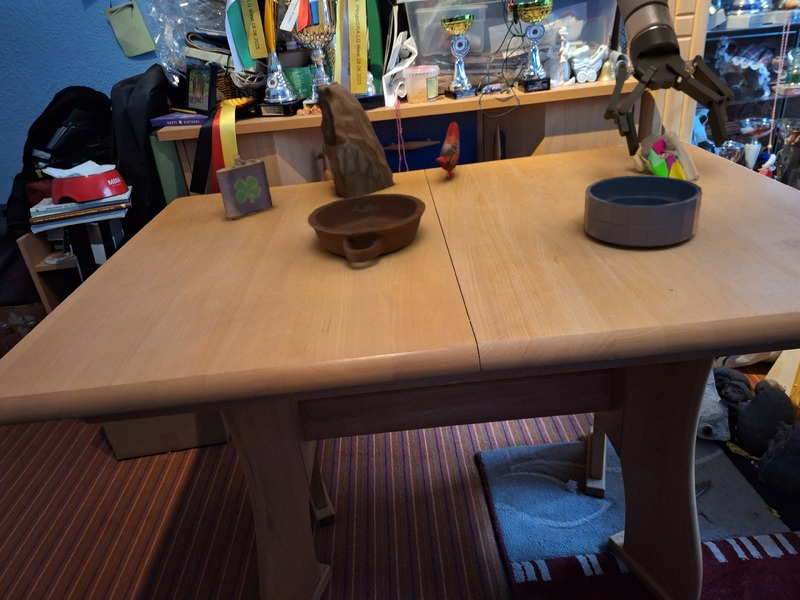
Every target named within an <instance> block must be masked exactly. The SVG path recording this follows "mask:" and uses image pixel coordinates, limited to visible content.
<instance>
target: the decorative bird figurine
mask: <svg viewBox="0 0 800 600" xmlns="http://www.w3.org/2000/svg"><path fill="white" fill-rule="evenodd" d="M459 157H460V128H459V125H458V123H457V122H456V121H452V122H450V123H449V126H448V127H447V130H446V136H445V139H444V142H443V144H442V147H441V150H440V153H439V157H438V158H435V162H437V163H439V165H440V168H441V169H442V170H444V171H445V172H447V173H448V180H450V179H451V178H452V177H454V175H455V171H453V170H455V168H456V166H457V164H458V162H459Z"/></svg>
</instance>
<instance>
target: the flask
mask: <svg viewBox="0 0 800 600" xmlns="http://www.w3.org/2000/svg"><path fill="white" fill-rule="evenodd" d="M231 159H233V160H234V161H233V163H232V164H233V165H231V166H228V167H224V168H221V169H218V170H216V172H215V175H216V179H217V183H218V187H219V191H220V195H221V199H222V204H223V207H224V212H225V217H226V219H227V220H229V221H232V220H238V219H242V218H244V217H248V216H251V215H254V214H256V213H261V212H264V211H267V210H271V209H273V208H274V205H273V200H272V194H271V190H270V185H269V180H268V174H267V170H266V164H265V161H264V160H261V159H253V158H251V159H247V160H244V159H242V158H241V157H240V154H235V155H233V156H231Z"/></svg>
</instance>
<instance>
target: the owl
mask: <svg viewBox="0 0 800 600" xmlns="http://www.w3.org/2000/svg"><path fill="white" fill-rule="evenodd" d="M315 93H316V94H317V100H316V101H315V102H316V104H317V106H318V107H319V110H320V113H321V122H320V131H321V133H322V137H323V146H324V148H323V149H324V155H325V156H326V158H327V159H328V161H329V165H330V166H329V167H330V170H331V173H332V176H333V185H334V189H335V190H334V192H335V193H334V196H337V197H339V198H343V199H346V198H352V197H358V196H365V195H371V193H374V192H377V191H381V190H384V189H387V188H389V187H392V186H395V182H394V180H393V178H394V174H393V172H392V170H391V168H390V165H389V163H388V160H387V157H386V152H385V150H384V147H383V145H382V144H381V142H380V140H379V138H378V136H377V135H376V132H375V129H374V128H373V124H372V122H371V120H370V117H369V116H368V114H367V113H366V111H365V109H364V107H363V105H362V104H361V102H360V101H359V100H358V98H357V97H356V96H355V95H354V94H353V92H351V91H350V90H349V89H348V88H346V86H344V85H342V84H340V83H339V82H338V81H334V82H333V83H330V84H328V83H322V84H320V85H319V86H318V87H317V88H316V91H315Z"/></svg>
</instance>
